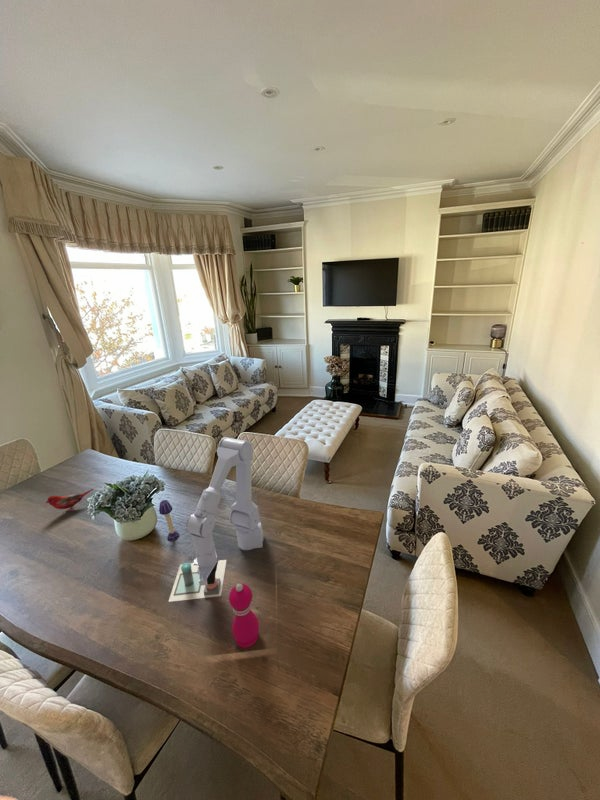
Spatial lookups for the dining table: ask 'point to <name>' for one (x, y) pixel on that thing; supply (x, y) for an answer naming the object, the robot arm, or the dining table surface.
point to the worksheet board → (197, 585)
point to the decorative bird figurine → (66, 501)
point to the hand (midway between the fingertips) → (211, 582)
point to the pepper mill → (243, 616)
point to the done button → (212, 585)
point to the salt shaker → (187, 574)
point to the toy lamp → (168, 519)
